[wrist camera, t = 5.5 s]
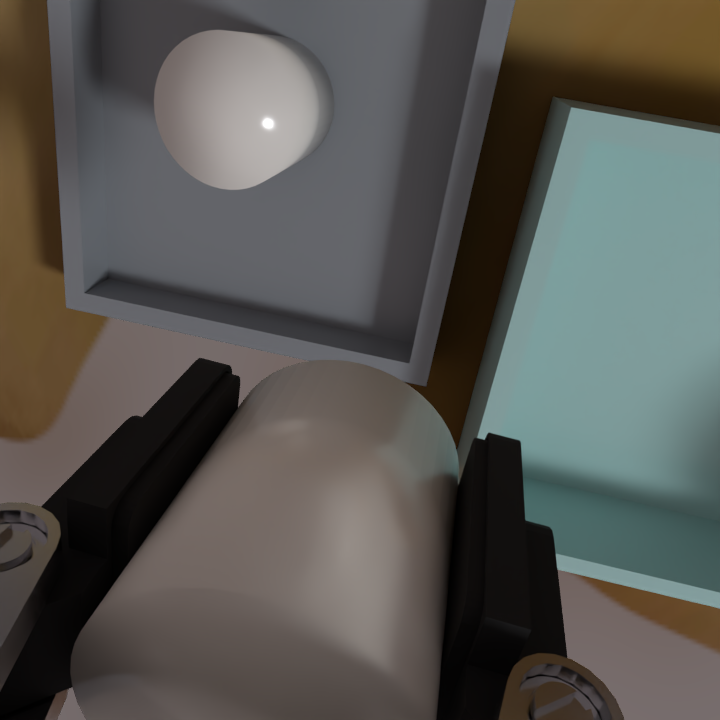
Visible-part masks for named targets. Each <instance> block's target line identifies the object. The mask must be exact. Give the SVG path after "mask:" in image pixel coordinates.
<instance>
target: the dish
mask: <svg viewBox="0 0 720 720" xmlns="http://www.w3.org/2000/svg"><path fill="white" fill-rule="evenodd" d="M488 433H493V434H497V435H501V436H505V437H509V438H512V439H516V440H520V441H521V452H522V470H523V487H524V505H525V520H526V521H530V522H534V523H537V524H541V525H545V526H548V527H550V528H551V529H552V531H553V536H554V543H555V552H556V561H557V569H558V570H562V571H566V572H571V573H575V574H579V575H583V576H587V577H591V578H596V579H600V580H604V581H608V582H612V583H616V584H621V585H625V586H629V587H633V588H637V589H641V590H646V591H650V592H654V593H658V594H662V595H666V596H671V597H675V598H679V599H683V600H687V601H691V602H696V603H700V604H704V605H708V606H712V607H716V608H720V126H717V125H711V124H705V123H700V122H694V121H688V120H683V119H677V118H671V117H666V116H660V115H654V114H649V113H643V112H637V111H632V110H626V109H620V108H615V107H609V106H603V105H598V104H592V103H586V102H581V101H575V100H569V99H564V98H558V97H552V101H551V105H550V108H549V112H548V116H547V120H546V123H545V127H544V131H543V134H542V138H541V142H540V145H539V149H538V153H537V156H536V160H535V164H534V168H533V171H532V175H531V179H530V182H529V186H528V190H527V193H526V197H525V201H524V205H523V208H522V212H521V216H520V219H519V223H518V227H517V230H516V234H515V238H514V241H513V245H512V249H511V253H510V256H509V260H508V264H507V267H506V271H505V275H504V278H503V282H502V286H501V289H500V293H499V297H498V301H497V304H496V308H495V312H494V315H493V319H492V323H491V326H490V330H489V334H488V338H487V341H486V345H485V349H484V352H483V356H482V360H481V363H480V367H479V371H478V374H477V378H476V382H475V386H474V389H473V393H472V397H471V400H470V404H469V408H468V411H467V415H466V419H465V423H464V426H463V430H462V434H461V437H460V441H459V445H458V448H457V455H458V462H459V480H458V485H459V482H460V478H461V475H462V472H463V469H464V466H465V463H466V460H467V457H468V454H469V451H470V447H471V444H472V442H473V439H474V438H475V437H476V438H479V439H483V440H485V438H486V436H487V434H488Z"/></svg>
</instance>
